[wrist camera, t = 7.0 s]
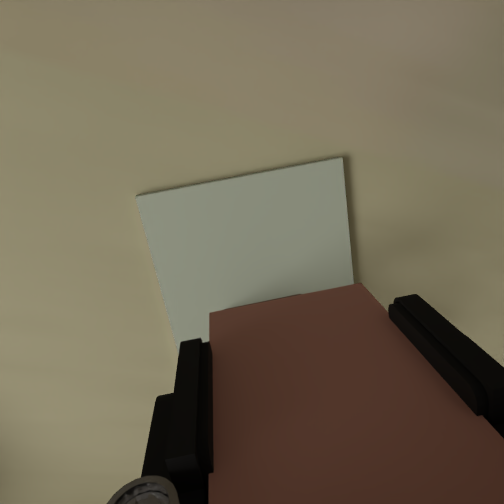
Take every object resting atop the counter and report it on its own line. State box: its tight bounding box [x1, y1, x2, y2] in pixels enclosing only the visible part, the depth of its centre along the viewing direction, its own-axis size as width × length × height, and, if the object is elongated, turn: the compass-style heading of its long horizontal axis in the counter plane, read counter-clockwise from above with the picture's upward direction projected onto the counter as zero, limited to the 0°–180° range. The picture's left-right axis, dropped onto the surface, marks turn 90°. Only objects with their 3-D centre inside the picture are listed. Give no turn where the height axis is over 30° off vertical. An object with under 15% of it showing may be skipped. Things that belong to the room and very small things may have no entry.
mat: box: [135, 157, 354, 354], centre depth 28 cm, size 32×12×1 cm, turn 10°
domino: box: [209, 283, 504, 504], centre depth 8 cm, size 2×5×10 cm, turn 100°
